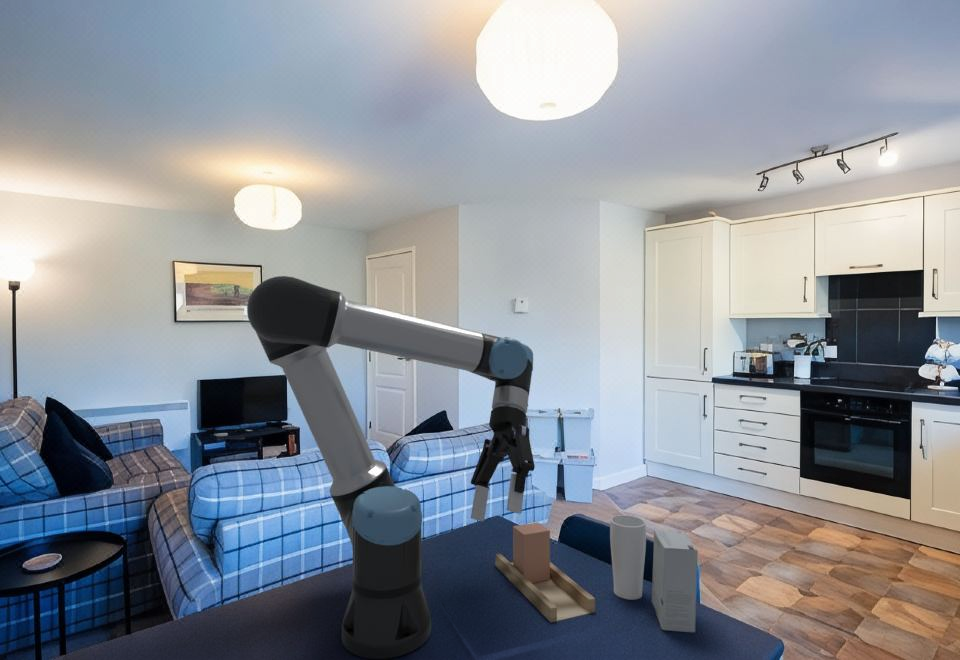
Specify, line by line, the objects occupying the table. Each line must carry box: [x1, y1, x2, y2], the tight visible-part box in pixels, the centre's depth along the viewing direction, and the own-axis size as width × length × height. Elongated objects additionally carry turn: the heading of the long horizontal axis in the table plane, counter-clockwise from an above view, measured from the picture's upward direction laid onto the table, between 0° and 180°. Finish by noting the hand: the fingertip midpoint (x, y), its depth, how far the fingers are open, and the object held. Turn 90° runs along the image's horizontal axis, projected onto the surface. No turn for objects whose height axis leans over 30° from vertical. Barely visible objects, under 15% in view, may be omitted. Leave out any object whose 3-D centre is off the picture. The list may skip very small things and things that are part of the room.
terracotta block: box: [512, 521, 551, 583], centre depth 106 cm, size 5×6×10 cm
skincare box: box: [651, 529, 699, 633], centre depth 92 cm, size 8×6×15 cm
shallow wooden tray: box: [494, 553, 596, 623], centre depth 103 cm, size 24×9×3 cm, turn 22°
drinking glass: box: [609, 514, 647, 600], centre depth 100 cm, size 7×7×15 cm
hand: (494, 516), depth 96 cm, fingers open, 13 cm apart
